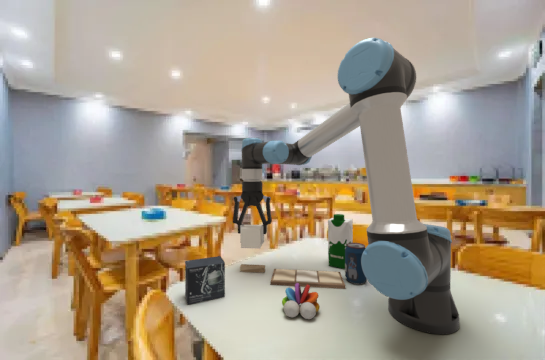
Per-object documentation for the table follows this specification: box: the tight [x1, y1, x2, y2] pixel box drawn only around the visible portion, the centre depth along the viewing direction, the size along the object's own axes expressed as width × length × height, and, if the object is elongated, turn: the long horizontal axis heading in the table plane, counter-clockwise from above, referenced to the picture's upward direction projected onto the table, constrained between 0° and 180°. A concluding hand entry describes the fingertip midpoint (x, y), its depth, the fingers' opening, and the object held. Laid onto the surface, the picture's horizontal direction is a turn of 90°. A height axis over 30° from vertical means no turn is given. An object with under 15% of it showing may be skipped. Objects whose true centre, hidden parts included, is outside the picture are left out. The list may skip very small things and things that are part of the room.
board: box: [269, 268, 346, 290], centre depth 83 cm, size 11×24×1 cm, turn 83°
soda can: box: [344, 242, 368, 285], centre depth 82 cm, size 7×7×12 cm
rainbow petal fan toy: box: [281, 283, 320, 320], centre depth 63 cm, size 8×10×7 cm
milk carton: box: [327, 213, 354, 270], centre depth 96 cm, size 9×9×20 cm
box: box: [184, 255, 226, 306], centre depth 72 cm, size 11×7×10 cm, turn 115°
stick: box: [239, 263, 266, 274], centre depth 90 cm, size 2×9×2 cm, turn 83°
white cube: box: [240, 224, 263, 250], centre depth 91 cm, size 7×7×7 cm
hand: (252, 242), depth 91 cm, fingers closed on white cube, 7 cm apart
